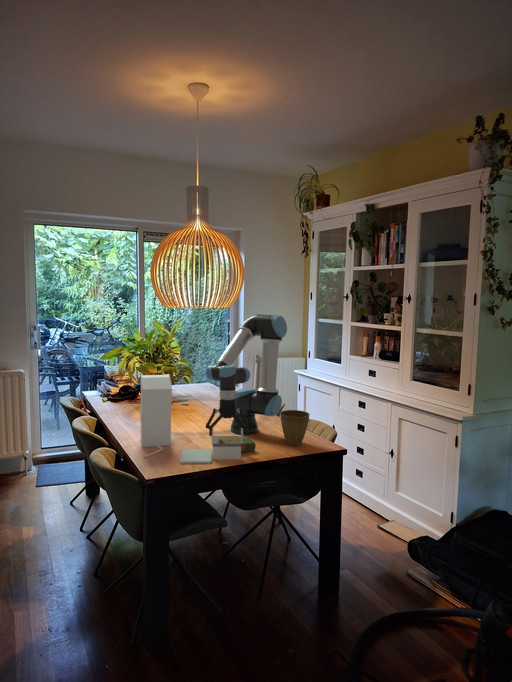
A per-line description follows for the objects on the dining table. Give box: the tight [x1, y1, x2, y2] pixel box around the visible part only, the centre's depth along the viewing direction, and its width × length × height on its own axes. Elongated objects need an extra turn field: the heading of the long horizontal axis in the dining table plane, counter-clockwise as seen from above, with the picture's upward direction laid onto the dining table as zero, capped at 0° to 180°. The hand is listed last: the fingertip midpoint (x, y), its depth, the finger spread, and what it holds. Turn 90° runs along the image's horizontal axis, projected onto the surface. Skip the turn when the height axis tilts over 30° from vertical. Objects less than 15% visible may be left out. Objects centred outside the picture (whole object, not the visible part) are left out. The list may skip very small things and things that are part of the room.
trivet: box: [179, 448, 213, 465], centre depth 231 cm, size 18×14×1 cm
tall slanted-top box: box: [139, 373, 173, 458], centre depth 244 cm, size 14×35×35 cm, turn 16°
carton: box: [219, 436, 257, 453], centre depth 241 cm, size 8×16×4 cm, turn 119°
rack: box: [212, 434, 242, 461], centre depth 238 cm, size 19×13×7 cm
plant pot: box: [279, 409, 310, 447], centre depth 254 cm, size 15×15×16 cm
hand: (227, 442), depth 237 cm, fingers open, 13 cm apart
